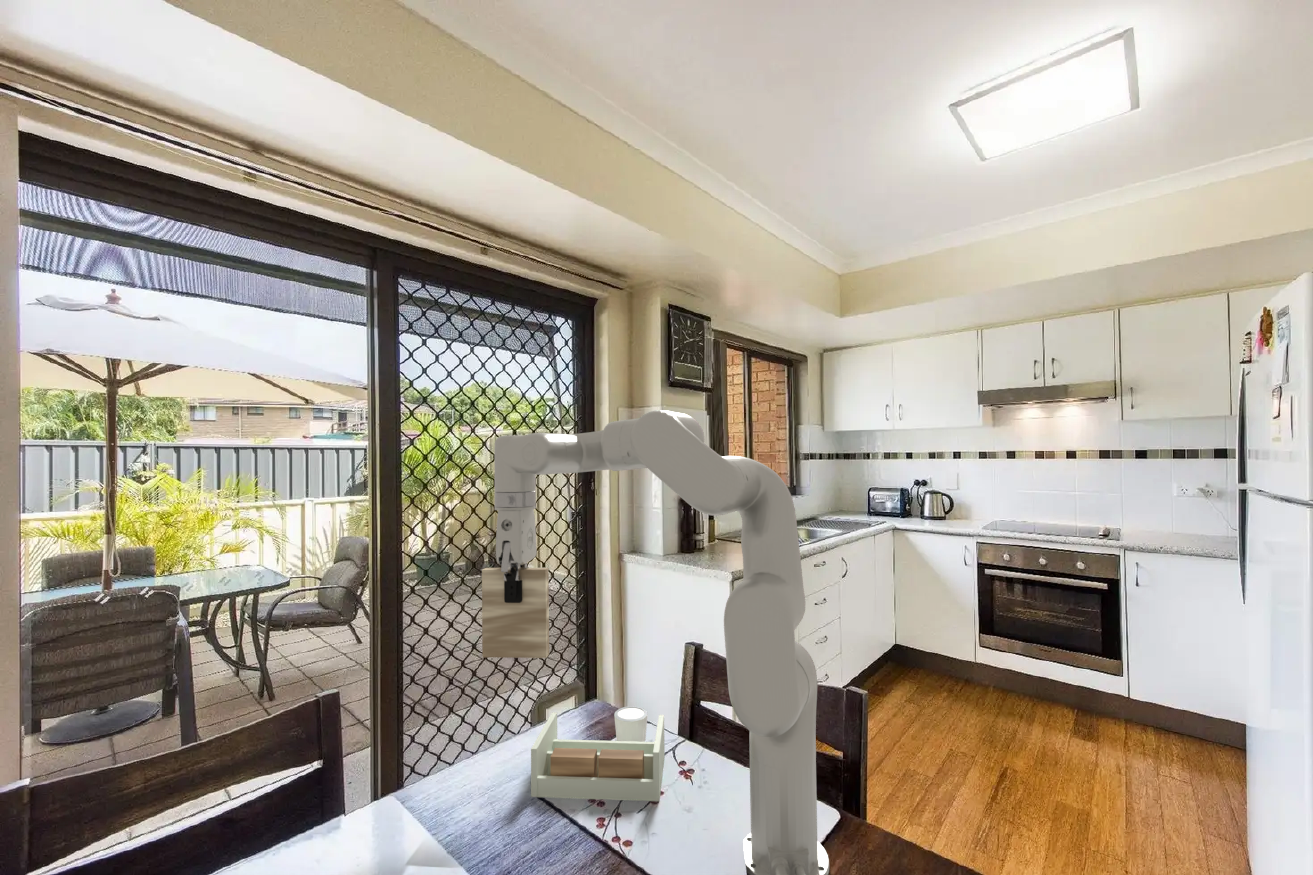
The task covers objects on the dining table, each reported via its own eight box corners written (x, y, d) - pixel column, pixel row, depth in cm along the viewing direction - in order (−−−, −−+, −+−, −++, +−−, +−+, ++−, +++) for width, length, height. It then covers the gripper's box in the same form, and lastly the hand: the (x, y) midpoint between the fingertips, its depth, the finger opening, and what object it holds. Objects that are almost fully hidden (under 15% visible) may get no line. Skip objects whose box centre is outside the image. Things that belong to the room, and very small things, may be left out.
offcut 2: (642, 795, 96) (642, 759, 97) (598, 793, 97) (598, 758, 97) (644, 785, 99) (643, 750, 100) (601, 783, 100) (601, 749, 100)
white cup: (609, 753, 113) (609, 718, 113) (621, 737, 119) (621, 704, 120) (641, 758, 111) (641, 722, 111) (652, 741, 117) (651, 707, 118)
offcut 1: (594, 793, 97) (593, 757, 97) (550, 791, 98) (550, 756, 98) (597, 783, 100) (596, 748, 100) (555, 782, 101) (554, 747, 101)
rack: (659, 810, 95) (658, 752, 95) (531, 805, 96) (530, 748, 97) (664, 765, 109) (664, 714, 109) (552, 761, 110) (552, 712, 111)
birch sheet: (546, 657, 103) (545, 569, 104) (482, 657, 104) (481, 569, 104) (549, 654, 105) (548, 567, 106) (486, 653, 106) (485, 567, 106)
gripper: (521, 504, 97) (522, 612, 97) (546, 498, 113) (547, 590, 112) (479, 504, 98) (479, 612, 97) (509, 498, 114) (510, 590, 113)
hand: (515, 599), depth 105 cm, fingers closed on birch sheet, 2 cm apart
